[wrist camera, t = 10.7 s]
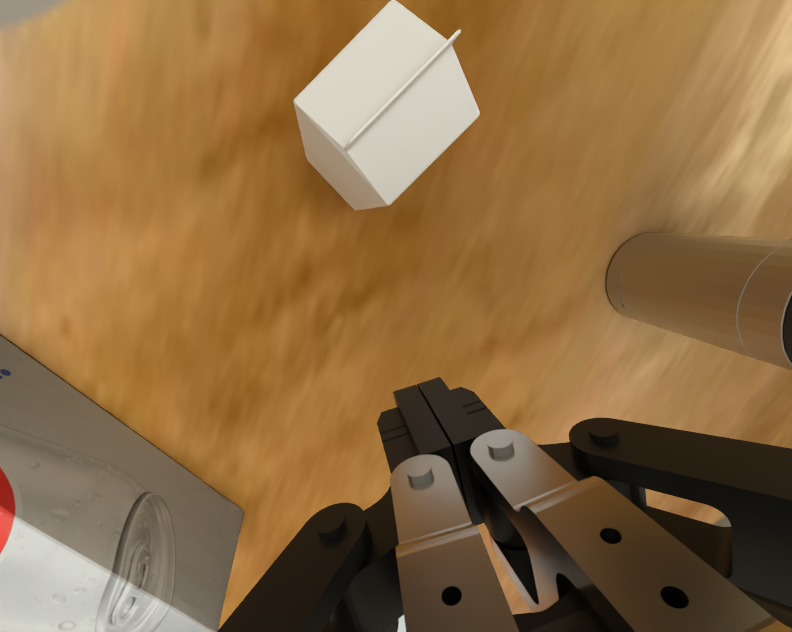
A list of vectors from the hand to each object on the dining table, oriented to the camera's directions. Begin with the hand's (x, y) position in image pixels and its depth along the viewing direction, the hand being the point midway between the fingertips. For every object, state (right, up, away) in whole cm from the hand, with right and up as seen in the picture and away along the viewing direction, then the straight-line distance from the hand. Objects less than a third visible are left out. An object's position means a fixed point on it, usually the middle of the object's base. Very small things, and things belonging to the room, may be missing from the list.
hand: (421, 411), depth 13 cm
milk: (-4, +17, +24) cm, 29 cm away
